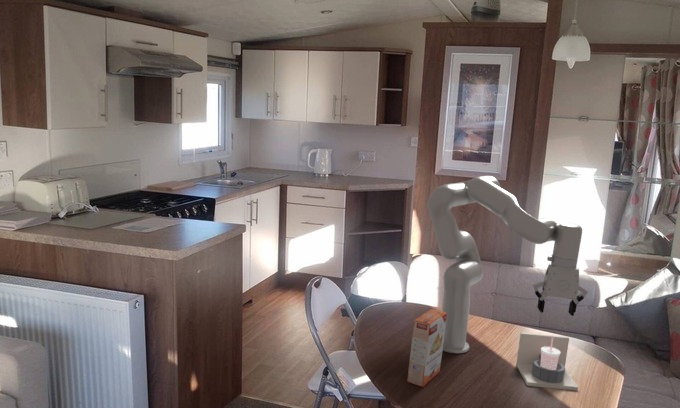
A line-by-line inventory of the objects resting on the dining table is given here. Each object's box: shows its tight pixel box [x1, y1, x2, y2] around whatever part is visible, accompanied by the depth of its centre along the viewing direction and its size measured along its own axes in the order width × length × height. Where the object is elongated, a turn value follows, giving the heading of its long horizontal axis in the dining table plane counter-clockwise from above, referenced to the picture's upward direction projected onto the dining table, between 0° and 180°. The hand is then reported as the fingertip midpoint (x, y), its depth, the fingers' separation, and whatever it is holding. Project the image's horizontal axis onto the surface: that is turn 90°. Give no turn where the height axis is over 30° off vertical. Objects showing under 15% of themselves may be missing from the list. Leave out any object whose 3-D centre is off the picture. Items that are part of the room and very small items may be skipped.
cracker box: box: [406, 308, 447, 388], centre depth 184 cm, size 14×6×21 cm, turn 148°
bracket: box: [515, 332, 579, 392], centre depth 191 cm, size 16×15×12 cm
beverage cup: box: [540, 336, 561, 370], centre depth 190 cm, size 6×6×14 cm
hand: (555, 312), depth 187 cm, fingers open, 9 cm apart
